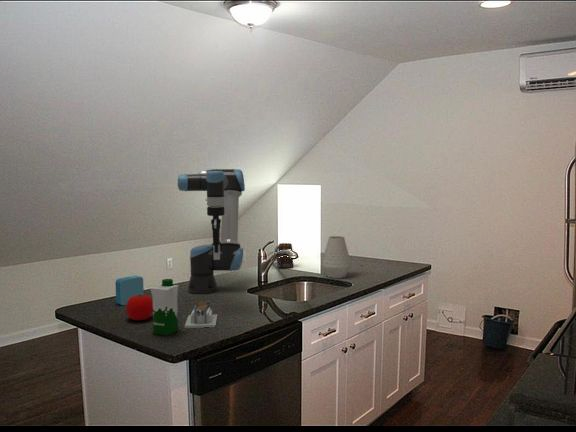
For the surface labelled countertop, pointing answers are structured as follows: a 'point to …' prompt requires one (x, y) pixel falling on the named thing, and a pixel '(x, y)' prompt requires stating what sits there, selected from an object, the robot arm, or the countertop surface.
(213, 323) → the base
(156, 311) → the milk carton
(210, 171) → the robot arm
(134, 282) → the light blue flat block
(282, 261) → the mug
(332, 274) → the vase
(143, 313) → the tomato
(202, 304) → the wooden bar
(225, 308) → the countertop surface
